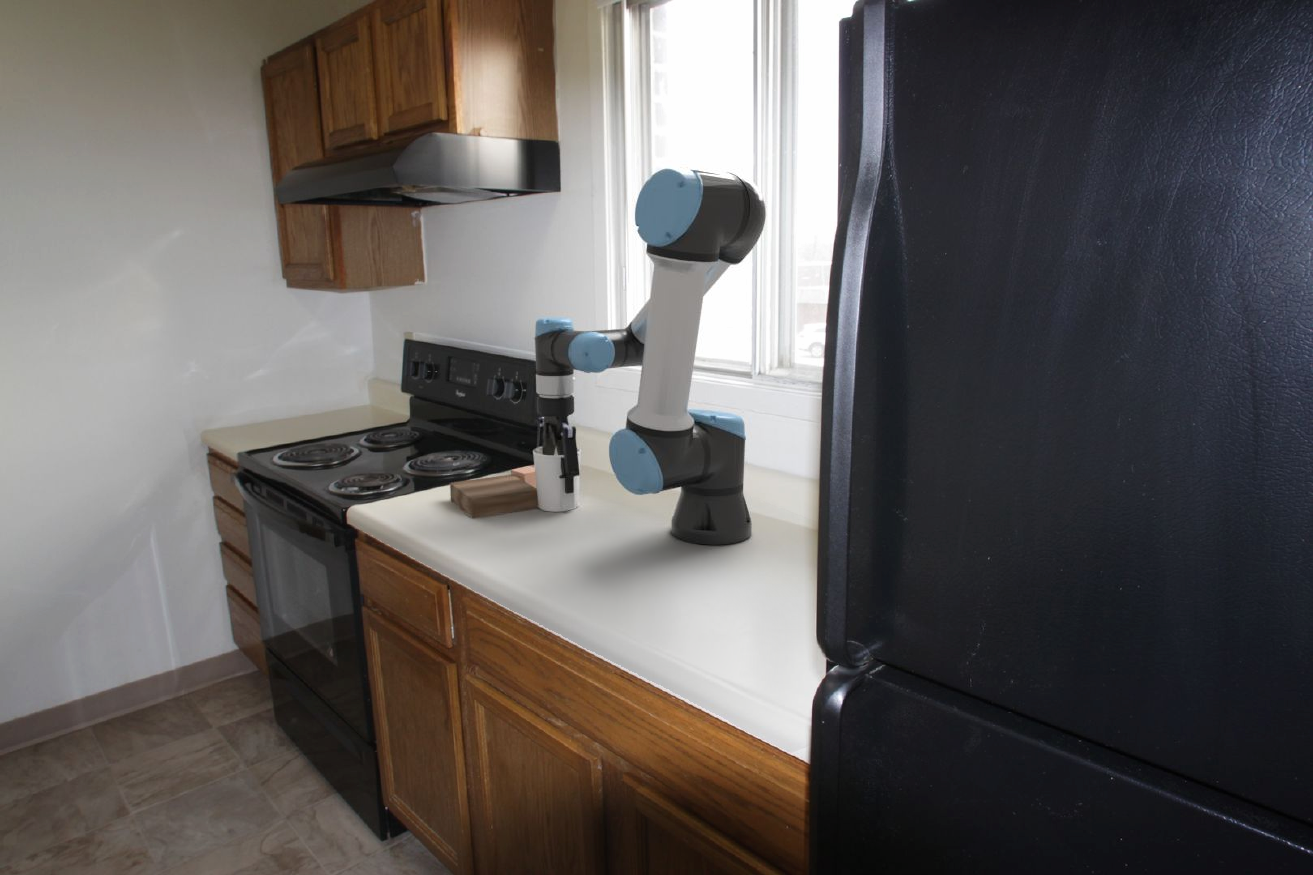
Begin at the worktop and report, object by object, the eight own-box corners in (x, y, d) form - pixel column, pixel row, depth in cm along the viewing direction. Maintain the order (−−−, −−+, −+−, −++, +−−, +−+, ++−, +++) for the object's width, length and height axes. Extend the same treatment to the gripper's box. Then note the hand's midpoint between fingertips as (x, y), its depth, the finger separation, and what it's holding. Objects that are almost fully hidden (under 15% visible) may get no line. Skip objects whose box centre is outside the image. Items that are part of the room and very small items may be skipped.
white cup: (573, 514, 166) (572, 456, 163) (527, 511, 168) (525, 454, 165) (587, 501, 175) (586, 446, 172) (543, 498, 177) (542, 443, 174)
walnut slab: (538, 507, 170) (537, 489, 169) (472, 518, 163) (471, 498, 162) (513, 491, 182) (512, 474, 181) (450, 500, 174) (450, 482, 174)
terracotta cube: (543, 491, 182) (542, 469, 181) (525, 496, 179) (524, 473, 178) (529, 487, 186) (528, 465, 185) (511, 491, 182) (510, 469, 181)
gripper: (596, 401, 159) (597, 512, 164) (550, 386, 177) (552, 487, 182) (560, 404, 155) (563, 518, 160) (517, 389, 173) (521, 492, 178)
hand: (557, 501), depth 171 cm, fingers closed on white cup, 9 cm apart
